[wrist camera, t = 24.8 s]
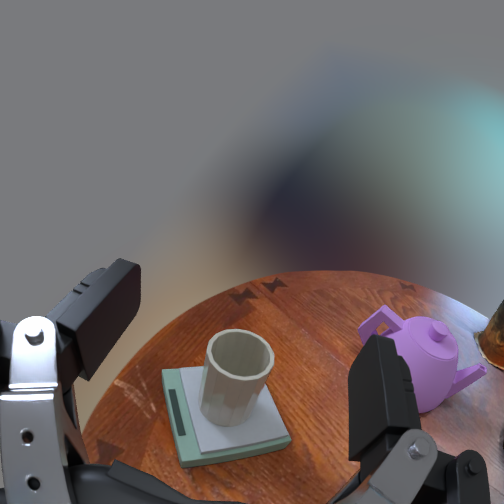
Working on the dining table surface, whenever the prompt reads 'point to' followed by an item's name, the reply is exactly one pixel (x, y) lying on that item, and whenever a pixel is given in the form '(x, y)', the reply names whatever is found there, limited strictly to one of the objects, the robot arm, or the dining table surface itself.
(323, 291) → the dining table surface
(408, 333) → the teapot
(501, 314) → the vessel
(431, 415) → the dining table surface
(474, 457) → the robot arm
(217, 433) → the scale
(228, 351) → the tumbler
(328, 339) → the dining table surface
